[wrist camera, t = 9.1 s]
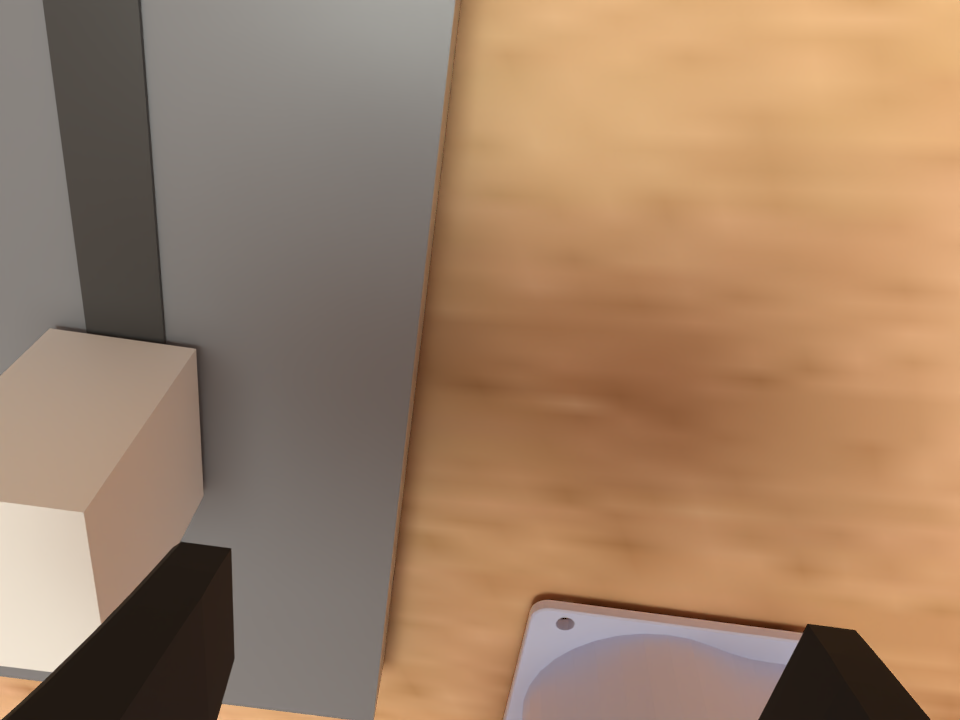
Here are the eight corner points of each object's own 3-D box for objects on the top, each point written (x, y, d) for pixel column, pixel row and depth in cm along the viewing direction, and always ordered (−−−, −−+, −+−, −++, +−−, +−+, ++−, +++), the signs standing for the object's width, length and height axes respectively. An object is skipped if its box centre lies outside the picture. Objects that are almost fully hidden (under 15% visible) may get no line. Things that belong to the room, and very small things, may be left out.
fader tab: (195, 348, 17) (83, 513, 12) (203, 495, 19) (109, 679, 14) (50, 328, 16) (-115, 486, 12) (74, 478, 19) (-61, 658, 14)
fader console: (522, -522, 11) (523, -597, 10) (383, 664, 25) (372, 726, 23) (-342, -679, 11) (-513, -789, 9) (-9, 614, 24) (-51, 673, 23)
